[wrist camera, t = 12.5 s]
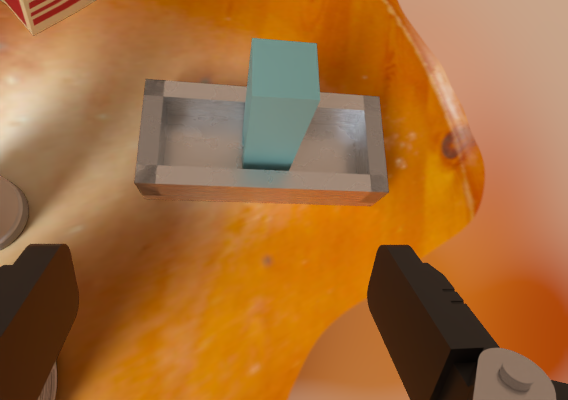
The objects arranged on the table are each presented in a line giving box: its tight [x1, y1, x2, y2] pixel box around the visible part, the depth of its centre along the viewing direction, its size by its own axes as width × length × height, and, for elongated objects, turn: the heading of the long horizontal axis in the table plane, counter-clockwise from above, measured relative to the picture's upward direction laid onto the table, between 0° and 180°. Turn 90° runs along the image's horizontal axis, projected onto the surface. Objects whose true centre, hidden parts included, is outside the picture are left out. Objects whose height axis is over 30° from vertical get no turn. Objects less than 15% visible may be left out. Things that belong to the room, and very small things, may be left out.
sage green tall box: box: [242, 38, 320, 171], centre depth 28 cm, size 4×4×12 cm
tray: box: [134, 79, 389, 206], centre depth 33 cm, size 20×9×4 cm, turn 91°
